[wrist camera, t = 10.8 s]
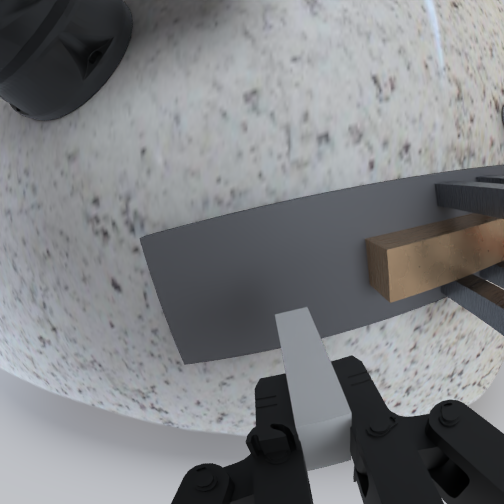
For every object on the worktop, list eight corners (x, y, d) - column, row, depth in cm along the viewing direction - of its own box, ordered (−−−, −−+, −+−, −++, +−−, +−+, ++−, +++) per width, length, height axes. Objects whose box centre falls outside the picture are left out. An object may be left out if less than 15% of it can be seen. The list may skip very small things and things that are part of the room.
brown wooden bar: (369, 284, 22) (390, 302, 18) (365, 238, 21) (386, 249, 17) (518, 235, 21) (540, 242, 17) (517, 202, 20) (540, 206, 16)
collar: (440, 292, 22) (539, 363, 9) (434, 183, 20) (565, 198, 7) (457, 285, 22) (554, 348, 9) (452, 180, 20) (576, 193, 6)
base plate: (187, 357, 25) (184, 364, 24) (144, 235, 22) (139, 238, 21) (512, 260, 23) (518, 263, 22) (509, 163, 20) (515, 164, 19)
